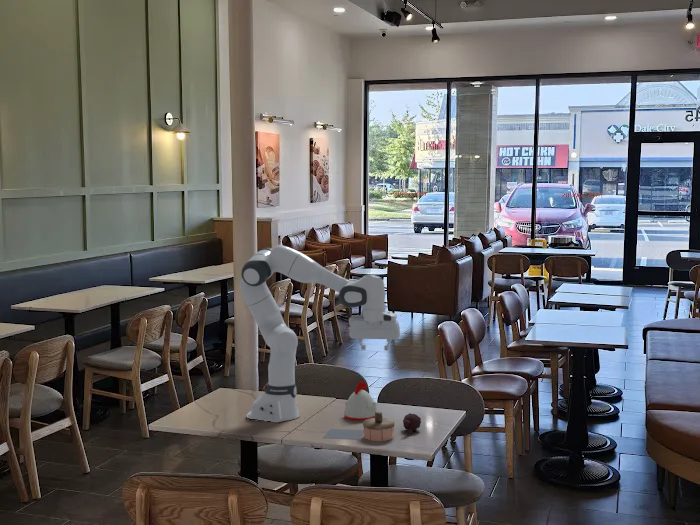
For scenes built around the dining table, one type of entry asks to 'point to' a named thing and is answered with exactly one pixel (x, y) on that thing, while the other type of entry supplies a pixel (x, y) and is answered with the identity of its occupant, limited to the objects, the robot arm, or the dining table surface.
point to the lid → (378, 422)
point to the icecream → (411, 422)
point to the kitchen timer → (360, 404)
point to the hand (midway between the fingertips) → (374, 349)
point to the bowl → (379, 434)
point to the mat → (344, 434)
